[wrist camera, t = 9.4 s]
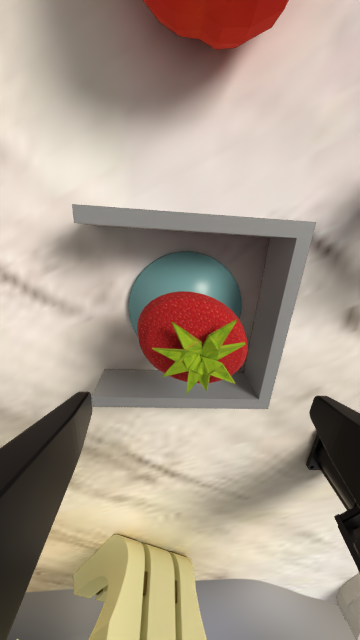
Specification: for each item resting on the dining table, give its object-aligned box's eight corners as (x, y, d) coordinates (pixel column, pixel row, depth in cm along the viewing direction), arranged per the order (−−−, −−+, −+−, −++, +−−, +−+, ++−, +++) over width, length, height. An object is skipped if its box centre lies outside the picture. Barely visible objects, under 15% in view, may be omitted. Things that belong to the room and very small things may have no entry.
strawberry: (161, 262, 18) (152, 290, 9) (240, 299, 19) (305, 359, 10) (135, 323, 20) (103, 401, 10) (208, 353, 21) (238, 446, 12)
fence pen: (251, 380, 23) (267, 408, 19) (105, 377, 22) (92, 406, 18) (284, 225, 18) (316, 222, 14) (93, 211, 17) (72, 204, 13)
